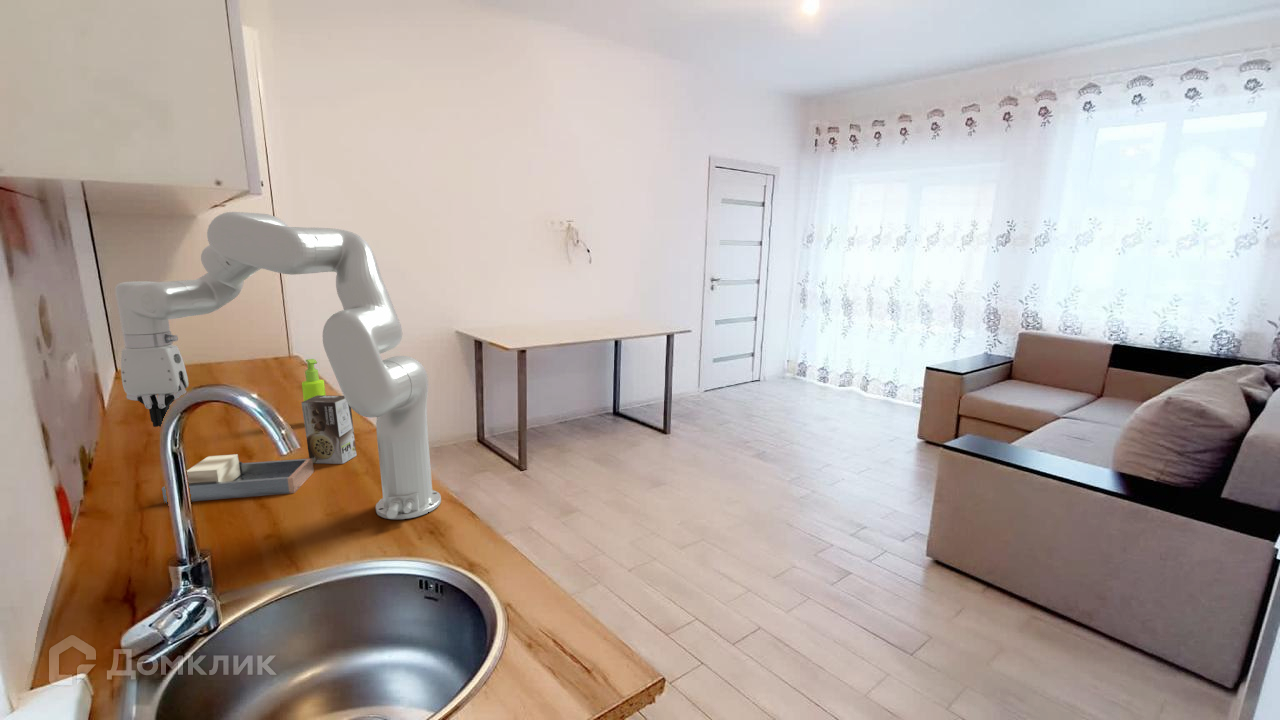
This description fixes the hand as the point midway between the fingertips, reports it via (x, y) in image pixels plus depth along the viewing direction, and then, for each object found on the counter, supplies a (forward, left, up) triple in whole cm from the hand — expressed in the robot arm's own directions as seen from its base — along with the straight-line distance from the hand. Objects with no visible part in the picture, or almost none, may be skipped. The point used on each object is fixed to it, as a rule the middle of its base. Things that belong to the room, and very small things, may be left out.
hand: (162, 424), depth 122 cm
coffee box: (+14, -28, -16) cm, 35 cm away
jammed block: (0, -8, -14) cm, 17 cm away
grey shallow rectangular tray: (0, -13, -16) cm, 21 cm away
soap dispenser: (+47, -14, -16) cm, 52 cm away
